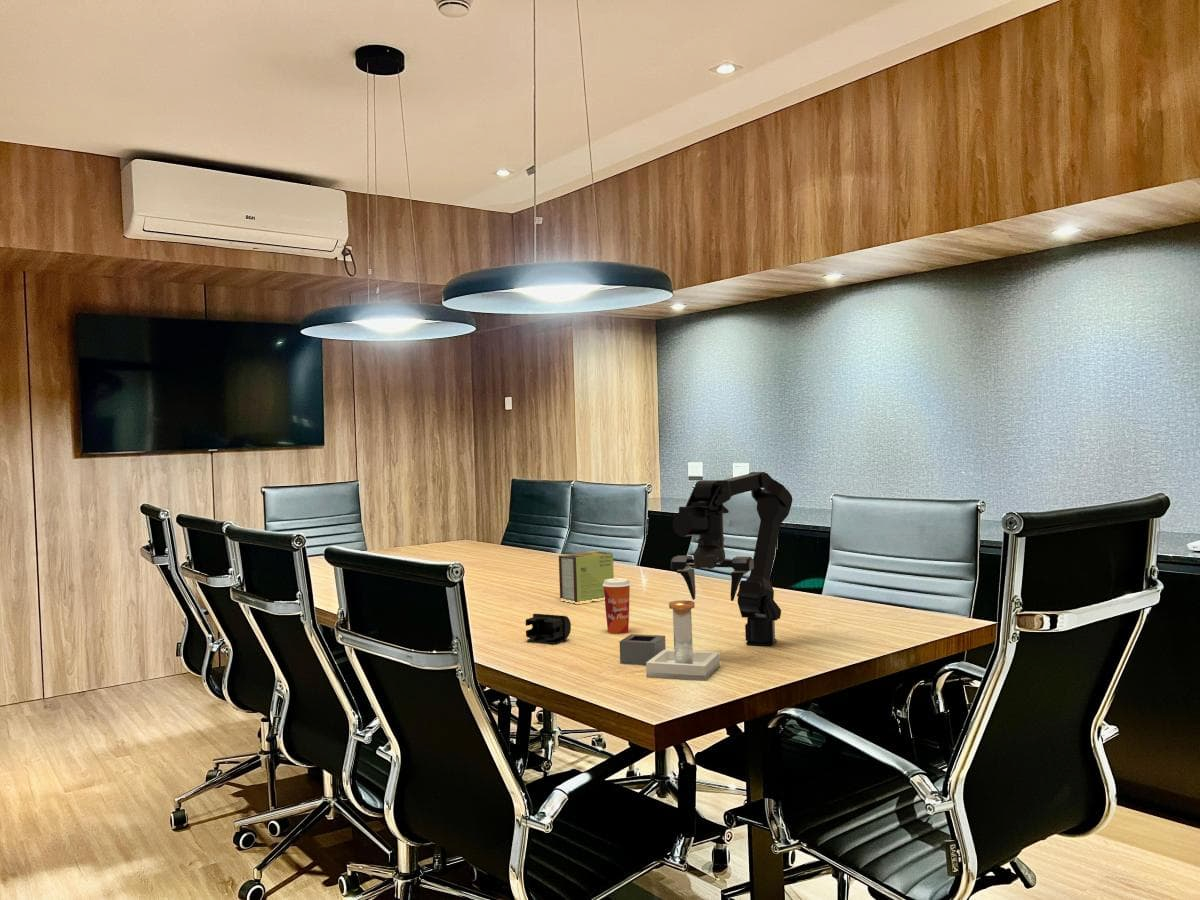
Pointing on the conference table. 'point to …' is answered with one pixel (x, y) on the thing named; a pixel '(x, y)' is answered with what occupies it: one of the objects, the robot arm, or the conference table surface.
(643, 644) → the block
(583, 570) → the protein box
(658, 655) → the tray
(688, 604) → the hitch pin
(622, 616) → the paper cup
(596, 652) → the conference table surface
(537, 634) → the end cap
